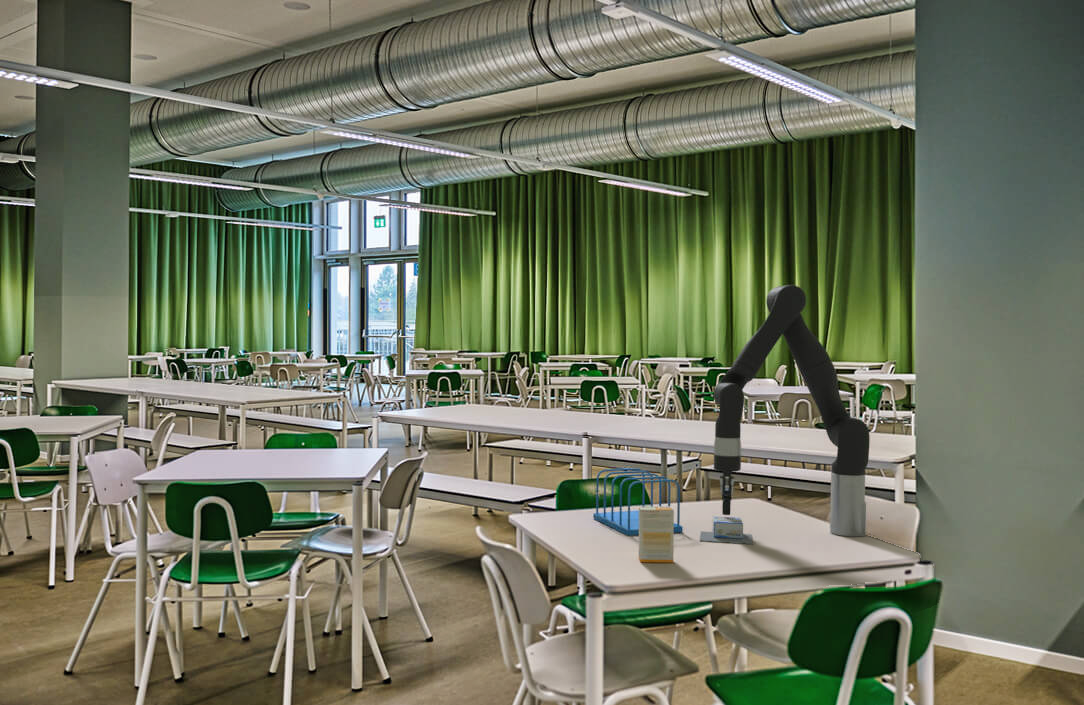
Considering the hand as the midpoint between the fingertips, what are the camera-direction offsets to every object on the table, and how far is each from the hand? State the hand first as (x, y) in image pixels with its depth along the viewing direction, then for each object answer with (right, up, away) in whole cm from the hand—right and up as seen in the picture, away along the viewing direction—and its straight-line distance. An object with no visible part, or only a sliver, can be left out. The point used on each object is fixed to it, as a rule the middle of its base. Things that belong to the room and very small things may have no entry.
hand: (726, 514), depth 248 cm
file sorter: (-24, -5, +10) cm, 27 cm away
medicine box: (0, -3, +1) cm, 3 cm away
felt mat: (-1, -6, -6) cm, 8 cm away
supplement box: (-24, -5, -33) cm, 42 cm away
